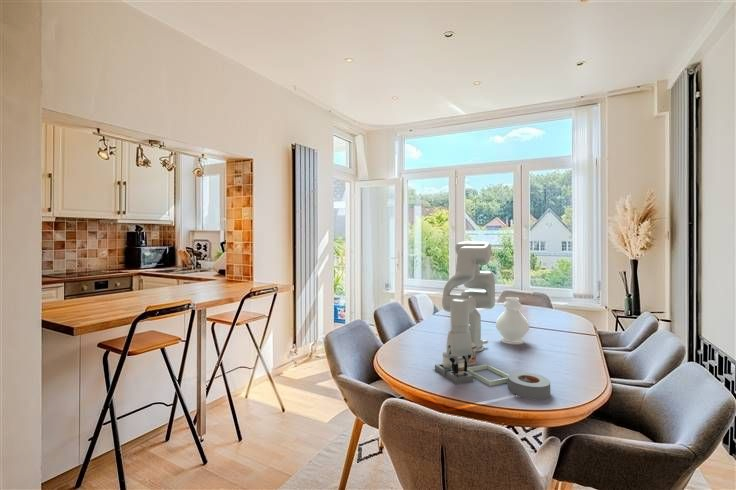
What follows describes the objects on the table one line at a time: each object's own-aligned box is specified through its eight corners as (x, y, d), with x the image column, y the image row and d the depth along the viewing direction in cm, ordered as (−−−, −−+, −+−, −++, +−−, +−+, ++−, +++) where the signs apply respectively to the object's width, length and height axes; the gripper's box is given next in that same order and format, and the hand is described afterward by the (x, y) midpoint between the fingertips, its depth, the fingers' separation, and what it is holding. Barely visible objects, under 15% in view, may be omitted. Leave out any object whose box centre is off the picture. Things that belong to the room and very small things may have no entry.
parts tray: (487, 369, 163) (487, 364, 163) (513, 383, 149) (513, 377, 149) (465, 373, 159) (465, 367, 159) (490, 387, 144) (490, 381, 144)
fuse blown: (460, 375, 154) (460, 356, 154) (466, 378, 150) (466, 359, 150) (452, 376, 153) (452, 358, 152) (458, 380, 149) (458, 361, 149)
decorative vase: (513, 335, 219) (513, 294, 218) (536, 343, 202) (536, 299, 201) (489, 338, 212) (489, 296, 212) (511, 347, 196) (511, 301, 195)
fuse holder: (432, 371, 162) (432, 364, 162) (450, 368, 166) (450, 361, 166) (455, 386, 145) (455, 379, 145) (476, 382, 149) (476, 375, 149)
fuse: (448, 369, 162) (448, 351, 162) (453, 372, 159) (453, 354, 158) (440, 370, 161) (440, 352, 161) (445, 373, 157) (446, 355, 157)
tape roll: (518, 380, 152) (518, 368, 152) (556, 391, 141) (556, 378, 141) (500, 391, 141) (500, 378, 141) (540, 404, 130) (540, 390, 130)
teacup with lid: (468, 368, 166) (469, 342, 165) (452, 362, 173) (452, 338, 172) (483, 362, 173) (483, 338, 173) (467, 357, 180) (467, 334, 180)
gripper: (470, 324, 157) (470, 365, 158) (437, 328, 151) (437, 371, 152) (481, 328, 150) (481, 371, 151) (447, 332, 144) (447, 378, 145)
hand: (459, 371), depth 151 cm, fingers closed on fuse blown, 3 cm apart
